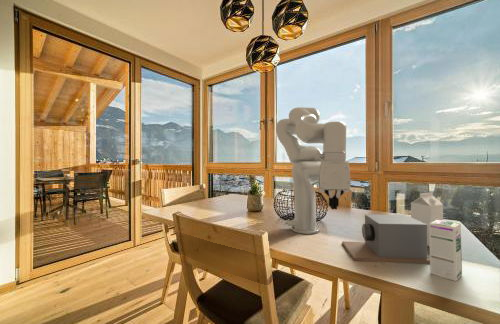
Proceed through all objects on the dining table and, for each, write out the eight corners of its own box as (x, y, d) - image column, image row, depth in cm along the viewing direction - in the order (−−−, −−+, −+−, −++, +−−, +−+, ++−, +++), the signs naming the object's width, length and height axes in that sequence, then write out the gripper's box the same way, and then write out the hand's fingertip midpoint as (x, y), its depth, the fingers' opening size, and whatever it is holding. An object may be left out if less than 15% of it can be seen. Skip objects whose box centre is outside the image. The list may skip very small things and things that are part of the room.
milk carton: (410, 240, 87) (410, 192, 87) (422, 238, 90) (422, 191, 89) (431, 247, 81) (430, 195, 80) (443, 244, 83) (443, 193, 83)
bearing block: (354, 260, 72) (353, 224, 71) (342, 243, 85) (341, 213, 85) (432, 263, 68) (432, 225, 68) (407, 245, 82) (406, 214, 82)
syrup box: (456, 282, 58) (456, 227, 58) (429, 273, 63) (428, 222, 63) (462, 275, 62) (462, 223, 62) (435, 267, 67) (435, 218, 66)
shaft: (368, 243, 75) (367, 226, 75) (362, 237, 80) (361, 221, 80) (427, 245, 72) (427, 227, 72) (417, 238, 78) (416, 222, 78)
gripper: (314, 157, 76) (313, 210, 77) (360, 157, 74) (359, 211, 75) (311, 156, 83) (310, 205, 85) (353, 156, 81) (352, 206, 83)
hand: (333, 208), depth 80 cm, fingers closed
